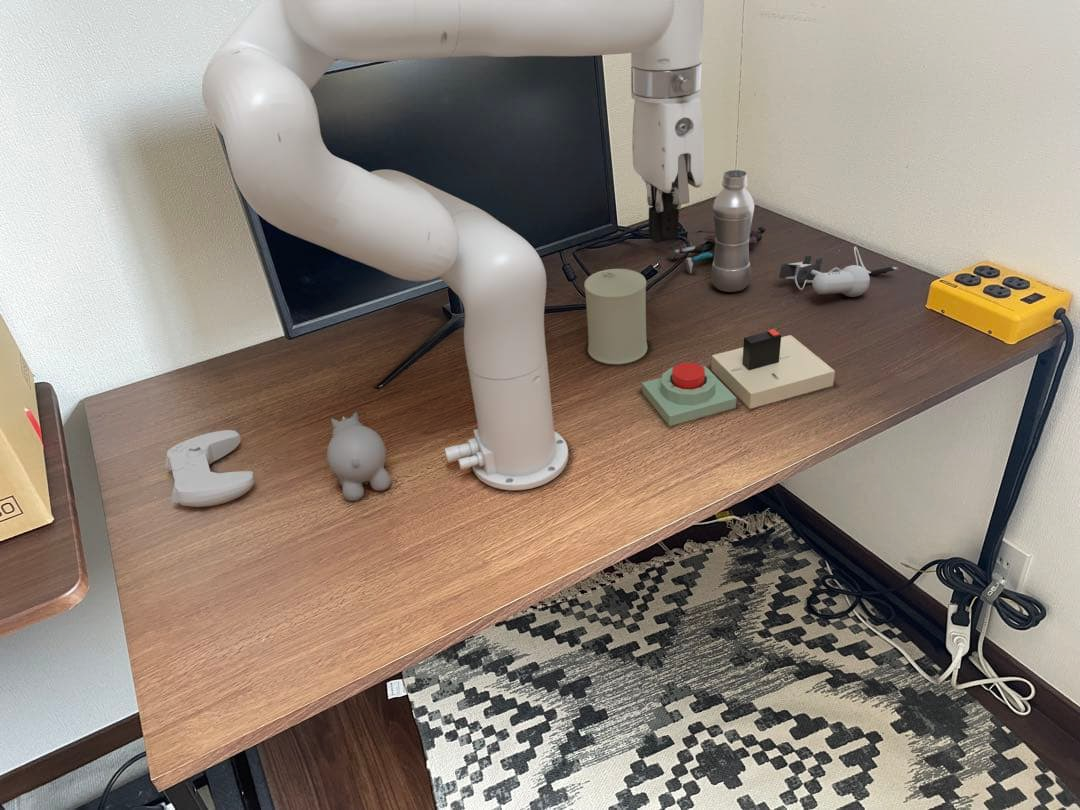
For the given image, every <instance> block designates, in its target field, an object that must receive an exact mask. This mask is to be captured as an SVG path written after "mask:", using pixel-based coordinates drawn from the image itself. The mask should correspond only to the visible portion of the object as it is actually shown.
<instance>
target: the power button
mask: <svg viewBox="0 0 1080 810" xmlns="http://www.w3.org/2000/svg"><path fill="white" fill-rule="evenodd" d="M673 367H674V368H673V370H672V383H673V385H674V386H675V387H678V388H681V389H696V388H700V387H702V386H703V384H704V382H705V370H704V368H703V366H702V365H701V364H699V363H696V362H687V361H686V362H680V363H677V365H675V366H673Z"/></svg>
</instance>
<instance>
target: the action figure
mask: <svg viewBox="0 0 1080 810" xmlns="http://www.w3.org/2000/svg"><path fill="white" fill-rule="evenodd" d="M765 232H766V228H765V227H763V226H762V225H761V226H759V227H757V230H756V231H755V230H750V236H749V247H752V246H754V245H755V244H757V243H759V242H760V241H761V240H762V239H763V234H764V233H765ZM698 233H704V234H706V236H707V237H705V242H704V243H702V244H700V245H694V246H688V247H685V248H680V249H675V250H673V251H671V252H670V254H669V257H670V260H674V259H675V258H676V257H678V256H679V255H680V254H686V253H688V254H697V255H695V256H692V257H686V258H685V260H684V261H685V267H686V271H687V273H688V274H689V275H691V274H693V266H694V263H696V262H698V261H703V260H705V261H706V260H714V253H715V238H716V237H715V230H703V229H702V230H698V231H697V232H696V234H698Z"/></svg>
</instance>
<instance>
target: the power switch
mask: <svg viewBox="0 0 1080 810" xmlns="http://www.w3.org/2000/svg"><path fill="white" fill-rule="evenodd" d="M674 367H675V366H673V367H670V368H668V369H667V370H666V371H664V372H663V373H662V374H661V377H658V378H654V379H650V380H647V381H643V382H641V393H642V394H643V395H644V397H645V398H646V399H647V400H648V402H649V403H650V404H651V406H652V407H653V408H654V409H655V410H656V412H657V413H658V414H659V415H660V416H661V418H662V419H663V421H665V423H666V424H667V425H668V426H669V427H671V426H675V425H679V424H682V423H685V422H690V421H693V420H697V419H701V418H704V417H709V416H711V415H715V414H718V413H722V412H726V411H729V410H733V409H736V408H737V398H738V397H736V396H735V394H733V392H732V391H730V389H729V388H728V387H726V385H725V384H724V383H723V382H722V381H720V380H721V379H720V378H719V377H718V376H717V375H716V374H715V373H714V372H713V371H712V370H710V369H709V367H707V366H705V365H704V366H702V367H703V368H704V370H705V382H704V384H703V386H702V387H700V388H696V389H681V388H678V387H675V386H674V385H673V383H672V370H673V368H674Z"/></svg>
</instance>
